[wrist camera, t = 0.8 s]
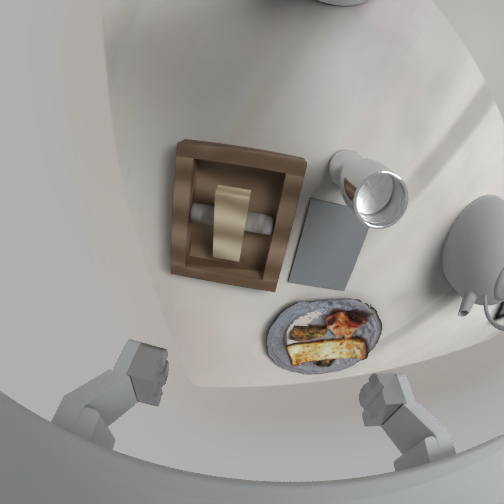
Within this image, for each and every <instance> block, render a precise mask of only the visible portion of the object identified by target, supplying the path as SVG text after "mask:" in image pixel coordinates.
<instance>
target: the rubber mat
mask: <svg viewBox="0 0 504 504" xmlns="http://www.w3.org/2000/svg"><path fill="white" fill-rule="evenodd" d="M368 229H369V227H368V226H366V225H364V224H363V223H362V222H361V221H360V220H359V219H358V218H357V217H356V216H355V214H354V213H353V212H352V211H351V210H350V209H349V207H348V206H344V205H340V204H335V203H331V202H327V201H322V200H317V199H313V198H311V199H310V203H309V207H308V211H307V215H306V219H305V222H304V226H303V230H302V234H301V237H300V241H299V244H298V248H297V252H296V255H295V259H294V262H293V266H292V269H291V273H290V276H289V280H288V282H291V283H297V284H304V285H310V286H316V287H323V288H330V289H336V290H343V291H344V290H345V288H346V285H347V283H348V280H349V278H350V276H351V273H352V271H353V268H354V266H355V263H356V261H357V258H358V255H359V253H360V250H361V248H362V245H363V242H364V240H365V237H366V234H367V231H368Z"/></svg>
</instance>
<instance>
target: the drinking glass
mask: <svg viewBox="0 0 504 504" xmlns="http://www.w3.org/2000/svg"><path fill="white" fill-rule="evenodd" d="M329 175H330V177H331V179H332V180H333V182H334V183H335V184H337V185H338V186H339V189H340V192H341V195H342V198H343V200H344V201H345V203H346V205H347V206H348V207H349V209H350V210H351V211H352V212H353V213H354V214H355V216H356V217H357V218H358V219H359V220H360V221H361V222H362V223H363V224H364V225H366V226H368V227H370V228H374V229H383V228H387V227H390V226H392V225H393V224H395V223H396V222H397V221H398V220H399V219H400V218H401V217H402V216H403V214H404V212H405V210H406V208H407V204H408V191H407V188H406V185H405V184H404V182H403V181H402V179H401V178H400V177H398V176H397V175H396V174H395V173H394V172H392V171H391V170H390V169H389V168H388V167H386V166H385V165H383V164H381V163H379V162H377V161H375V160H371V159H367V158H363V157H362V156H361V155H360V154H359V153H357V152H355V151H353V150H342V151H340V152H338V153H336V154H335V155H334V156H333V157H332V159H331V160H330V163H329Z"/></svg>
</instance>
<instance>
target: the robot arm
mask: <svg viewBox="0 0 504 504" xmlns="http://www.w3.org/2000/svg"><path fill="white" fill-rule="evenodd" d="M319 1H322V2H325V3H329V4H333V5H340V6H351V5H357V4H361V3H363V2H366V1H367V0H319ZM167 356H168V351H167V349H163V348H160V347H156V346H152V345H149V344H146V343H142V342H138V341H134V340H131V339H130V340H128V342H127V343H126V345H125V347H124V349H123V351H122V353H121V355H120V357H119V359H118V361H117V363H116V365H115V367H114V369H113V371H112V370H108V371H106V372H105V373H103V374H101V375H100V376H98V377H96V378H94V379H93V380H91V381H89V382H88V383H86V384H84V385H82V386H81V387H79V388H77V389H75V390H74V391H72V392H70V393H69V394H67V395H65V396H64V398H63V400H62V401H61V403H60V405H59V407H58V409H57V411H56V413H55V415H54V417H53V419H52V421H51V422H49V421H47V420H46V419H44V418H42V417H40V416H38V415H37V414H35V413H33V412H32V411H30V410H28V409H27V408H25V407H23V406H22V405H20V404H19V403H17V402H16V401H14V400H13V399H11V398H10V397H8V396H7V395H5V394H4V393H3V392H1V391H0V504H504V435H501V436H498V437H496V438H494V439H492V440H489V441H487V442H485V443H483V444H480V445H478V446H476V447H473V448H471V449H468V450H466V451H463V452H460V453H458V454H456V452H455V448H454V445H453V442H452V439H451V435H450V432H449V431H448V430H447V429H446V428H445V427H444V426H443V425H442V424H441V423H440V422H439V421H437V420H436V419H435V418H434V417H433V416H432V415H431V414H430V413H429V412H428V411H427V410H426V409H425V408H423V406H421V405H420V404H419V403H416V402H415V399H414V397H413V393H412V390H411V388H410V385H409V382H408V379H407V377H406V375H405V374H404V373H378V374H377V373H375V374H372V375H371V376H370V378H369V382H368V383H367V384H365V385H364V386H363V387H362V389H361V391H360V395H359V401H360V405H361V406H362V407H363V408H364V411H363V413H362V416H363V421H364V425H365V426H381V425H382V426H381V427H382V428H383V430H384V431H385V432H386V433H387V435H388V436H389V437H390V439H391V440H392V441H393V443H394V444H395V445H396V446H397V448H398V449H399V450H400V452H401V453H402V454H403V455H402V456H400V457H399V458H397V459H396V460H395V461H394V467H395V471H394V472H390V473H384V474H379V475H373V476H367V477H360V478H352V479H343V480H331V481H316V482H269V481H252V480H241V479H232V478H224V477H216V476H210V475H204V474H199V473H193V472H188V471H183V470H179V469H174V468H170V467H166V466H162V465H158V464H155V463H151V462H147V461H144V460H141V459H137V458H134V457H131V456H128V455H125V454H122V453H119V452H117V451H114V450H112V449H113V446H114V443H115V438H114V436H113V435H112V433H111V432H110V430H109V429H108V426H109V425H110V424H112V423H113V422H114V421H115V420H117V419H118V418H119V417H120V416H122V415H123V414H124V413H125V412H127V411H128V410H129V409H130V408H132V407H133V406H134V405H135V404H136V403H137V401H138V402H142V403H146V404H150V405H154V406H158V405H159V403H160V399H161V396H162V386H163V385H165V384H166V380H167V376H168V371H169V362H168V361H167V360H166V359H167Z"/></svg>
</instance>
